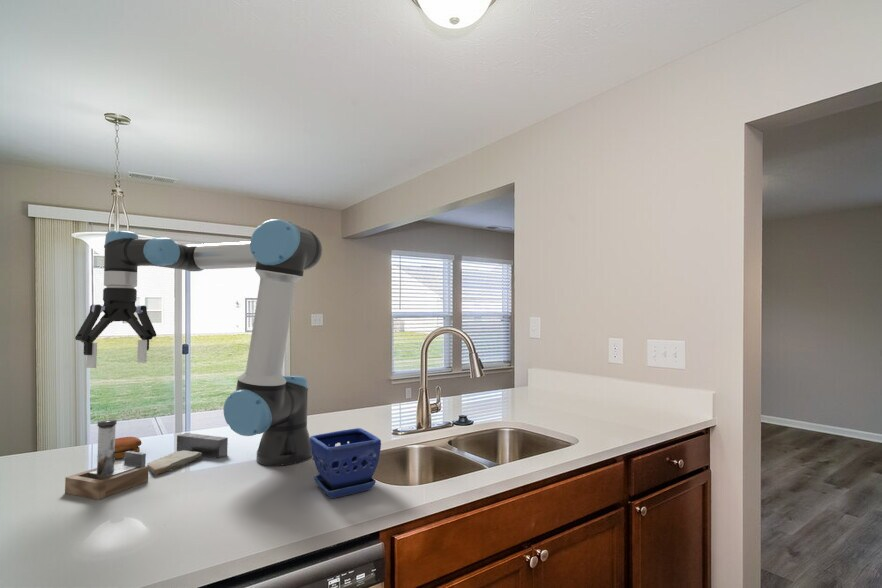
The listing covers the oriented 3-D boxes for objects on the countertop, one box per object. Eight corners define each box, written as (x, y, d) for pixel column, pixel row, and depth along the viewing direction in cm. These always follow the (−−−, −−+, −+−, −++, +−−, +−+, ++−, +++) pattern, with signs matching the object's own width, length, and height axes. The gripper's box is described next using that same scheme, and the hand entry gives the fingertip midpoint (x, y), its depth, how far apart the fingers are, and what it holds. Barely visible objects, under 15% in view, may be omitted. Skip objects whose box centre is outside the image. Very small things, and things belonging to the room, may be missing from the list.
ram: (146, 474, 110) (148, 415, 111) (107, 487, 101) (109, 424, 102) (126, 470, 112) (128, 413, 113) (86, 484, 103) (88, 421, 104)
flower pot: (325, 505, 94) (326, 448, 95) (308, 485, 106) (308, 434, 106) (382, 492, 101) (382, 439, 102) (360, 474, 113) (361, 426, 113)
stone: (157, 479, 111) (157, 468, 111) (128, 473, 115) (128, 463, 115) (207, 460, 125) (207, 451, 125) (180, 455, 129) (180, 446, 129)
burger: (134, 458, 126) (134, 441, 126) (95, 462, 123) (95, 445, 123) (145, 448, 135) (145, 433, 135) (108, 452, 132) (109, 436, 132)
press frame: (148, 481, 108) (148, 466, 108) (98, 499, 97) (98, 483, 97) (116, 475, 112) (117, 461, 112) (64, 493, 101) (65, 477, 101)
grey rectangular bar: (227, 455, 128) (227, 437, 128) (218, 458, 125) (219, 440, 125) (185, 449, 133) (186, 432, 134) (176, 452, 131) (177, 435, 131)
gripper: (153, 290, 136) (151, 360, 135) (60, 285, 112) (56, 369, 111) (171, 289, 133) (169, 360, 132) (79, 284, 110) (76, 370, 109)
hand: (117, 365), depth 122 cm, fingers open, 13 cm apart
